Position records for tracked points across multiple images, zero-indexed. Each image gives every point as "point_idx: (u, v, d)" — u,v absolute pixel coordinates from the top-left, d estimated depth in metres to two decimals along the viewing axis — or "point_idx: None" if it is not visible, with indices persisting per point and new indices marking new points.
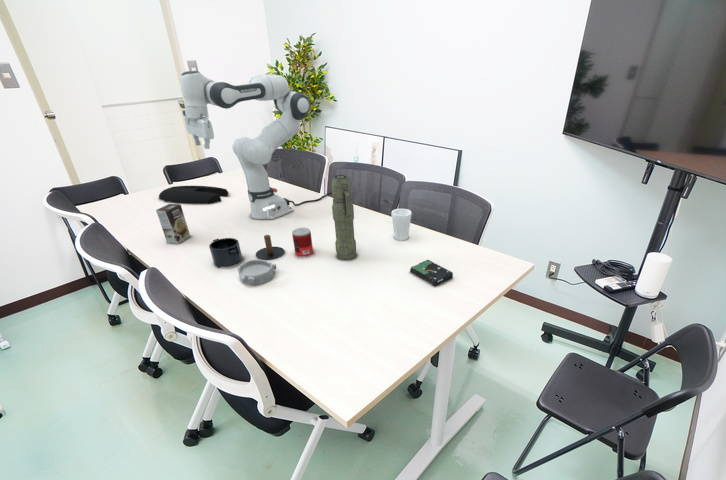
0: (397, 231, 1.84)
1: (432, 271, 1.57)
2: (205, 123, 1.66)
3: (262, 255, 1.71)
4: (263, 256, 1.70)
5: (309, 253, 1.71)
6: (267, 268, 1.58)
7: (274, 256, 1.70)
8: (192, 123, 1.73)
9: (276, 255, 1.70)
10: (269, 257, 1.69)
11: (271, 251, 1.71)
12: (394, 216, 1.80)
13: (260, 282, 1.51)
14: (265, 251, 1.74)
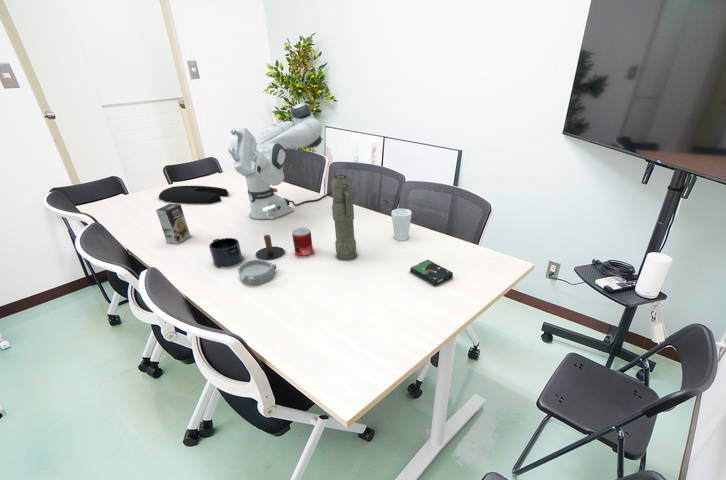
0: (397, 231, 1.84)
1: (432, 271, 1.57)
2: None
3: (262, 255, 1.71)
4: (263, 256, 1.70)
5: (309, 253, 1.71)
6: (267, 268, 1.58)
7: (274, 256, 1.70)
8: None
9: (276, 255, 1.70)
10: (269, 257, 1.69)
11: (271, 251, 1.71)
12: (394, 216, 1.80)
13: (260, 282, 1.51)
14: (265, 251, 1.74)
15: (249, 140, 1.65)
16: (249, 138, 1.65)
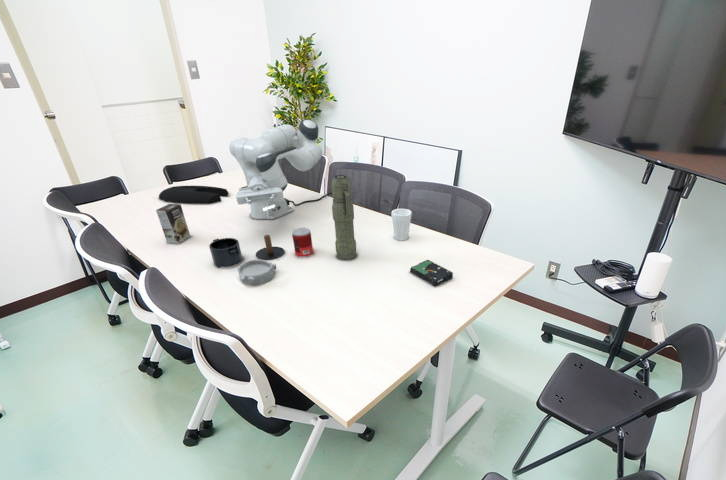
0: (397, 231, 1.84)
1: (432, 271, 1.57)
2: None
3: (262, 255, 1.71)
4: (263, 256, 1.70)
5: (309, 253, 1.71)
6: (267, 268, 1.58)
7: (274, 256, 1.70)
8: (252, 192, 1.77)
9: (276, 255, 1.70)
10: (269, 257, 1.69)
11: (271, 251, 1.71)
12: (394, 216, 1.80)
13: (260, 282, 1.51)
14: (265, 251, 1.74)
15: None
16: None
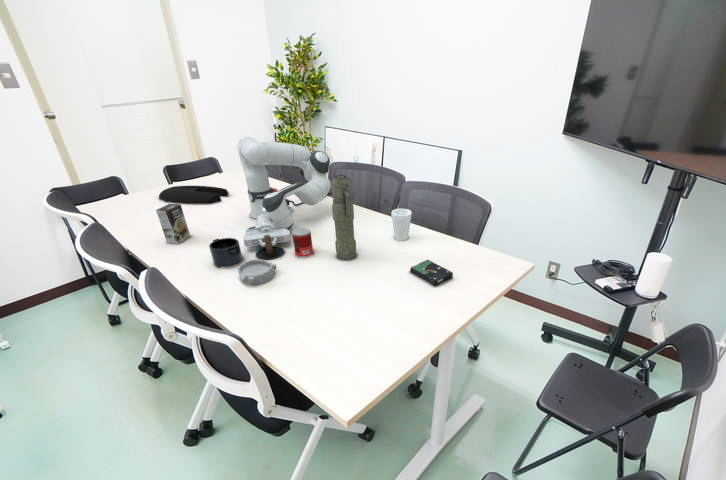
0: (397, 231, 1.84)
1: (432, 271, 1.57)
2: None
3: (263, 255, 1.71)
4: (263, 256, 1.70)
5: (309, 253, 1.71)
6: (267, 268, 1.58)
7: (274, 256, 1.70)
8: (259, 234, 1.75)
9: (276, 255, 1.70)
10: (269, 257, 1.69)
11: (271, 251, 1.71)
12: (394, 216, 1.80)
13: (260, 282, 1.51)
14: (265, 251, 1.74)
15: None
16: None
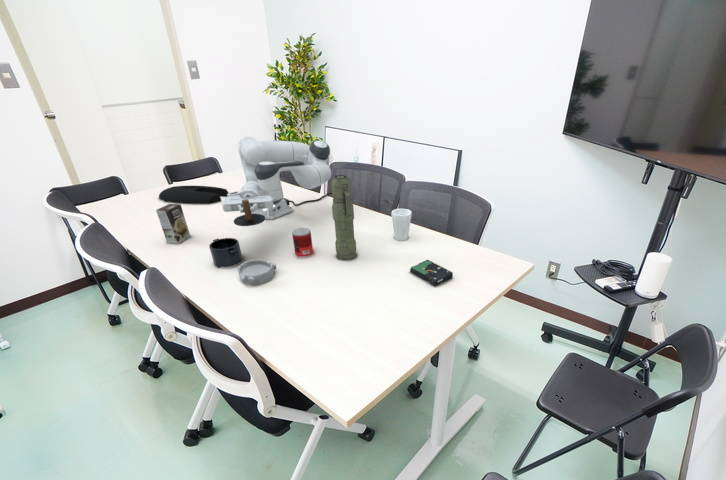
0: (397, 231, 1.84)
1: (432, 271, 1.57)
2: None
3: (241, 221, 1.59)
4: (241, 222, 1.58)
5: (309, 253, 1.71)
6: (267, 268, 1.58)
7: (252, 223, 1.58)
8: (240, 199, 1.64)
9: (254, 222, 1.58)
10: (246, 223, 1.57)
11: (250, 217, 1.60)
12: (394, 216, 1.80)
13: (260, 282, 1.51)
14: (245, 217, 1.62)
15: None
16: None
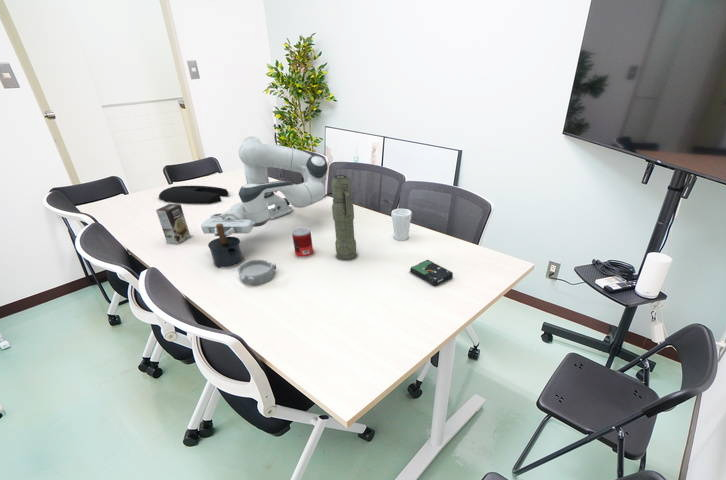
0: (397, 231, 1.84)
1: (432, 271, 1.57)
2: (251, 222, 1.68)
3: (215, 244, 1.61)
4: (214, 245, 1.60)
5: (309, 253, 1.71)
6: (267, 268, 1.58)
7: (223, 247, 1.59)
8: (221, 222, 1.67)
9: (226, 246, 1.59)
10: (218, 247, 1.59)
11: (224, 241, 1.61)
12: (394, 216, 1.80)
13: (260, 282, 1.51)
14: None
15: None
16: None
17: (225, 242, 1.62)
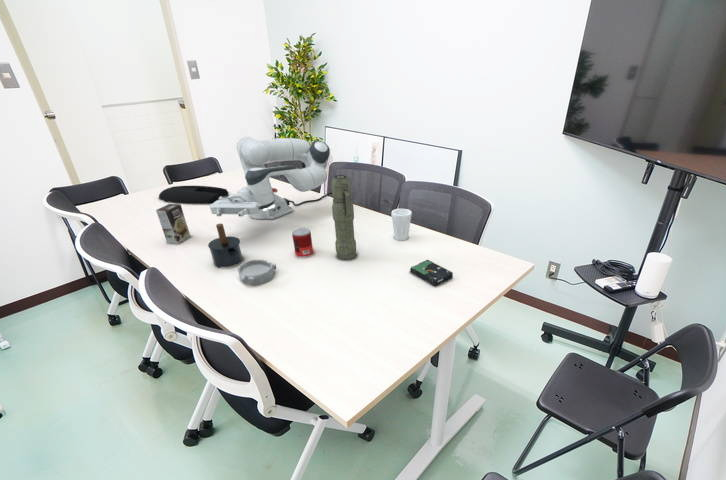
0: (397, 231, 1.84)
1: (432, 271, 1.57)
2: (257, 204, 1.77)
3: (215, 244, 1.61)
4: (214, 245, 1.60)
5: (309, 253, 1.71)
6: (267, 268, 1.58)
7: (223, 247, 1.59)
8: (229, 203, 1.75)
9: (226, 246, 1.59)
10: (218, 247, 1.59)
11: (224, 241, 1.61)
12: (394, 216, 1.80)
13: (260, 282, 1.51)
14: None
15: None
16: None
17: (225, 242, 1.62)
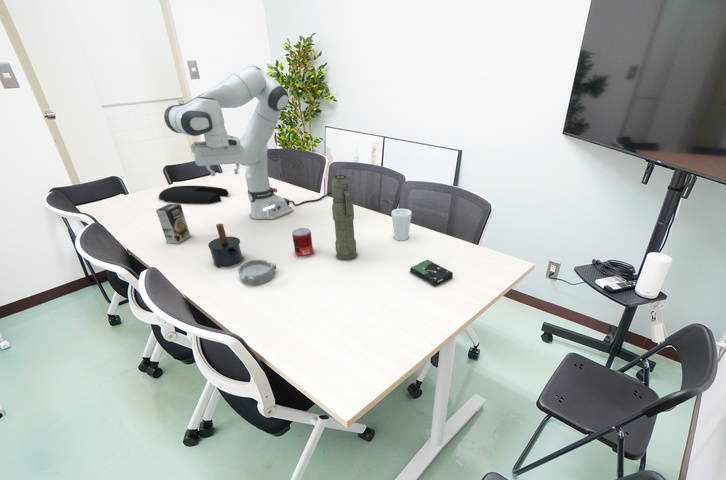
0: (397, 231, 1.84)
1: (432, 271, 1.57)
2: None
3: (215, 244, 1.61)
4: (214, 245, 1.60)
5: (309, 253, 1.71)
6: (267, 268, 1.58)
7: (223, 247, 1.59)
8: None
9: (226, 246, 1.59)
10: (218, 247, 1.59)
11: (224, 241, 1.61)
12: (394, 216, 1.80)
13: (260, 282, 1.51)
14: None
15: (206, 157, 1.61)
16: (204, 158, 1.60)
17: (225, 242, 1.62)
